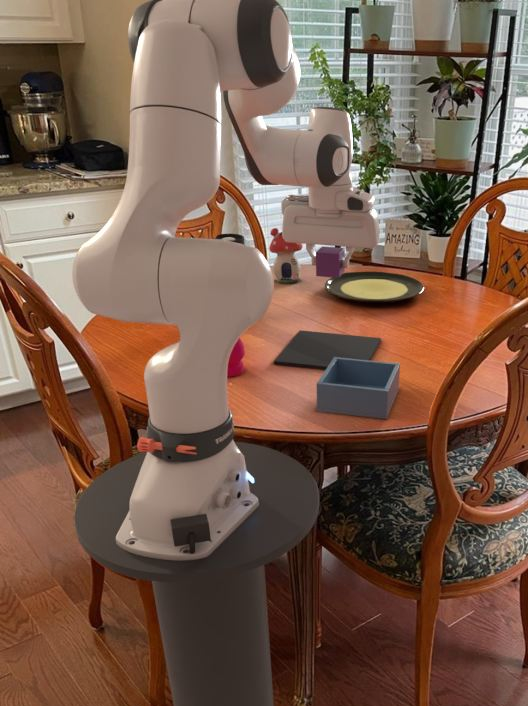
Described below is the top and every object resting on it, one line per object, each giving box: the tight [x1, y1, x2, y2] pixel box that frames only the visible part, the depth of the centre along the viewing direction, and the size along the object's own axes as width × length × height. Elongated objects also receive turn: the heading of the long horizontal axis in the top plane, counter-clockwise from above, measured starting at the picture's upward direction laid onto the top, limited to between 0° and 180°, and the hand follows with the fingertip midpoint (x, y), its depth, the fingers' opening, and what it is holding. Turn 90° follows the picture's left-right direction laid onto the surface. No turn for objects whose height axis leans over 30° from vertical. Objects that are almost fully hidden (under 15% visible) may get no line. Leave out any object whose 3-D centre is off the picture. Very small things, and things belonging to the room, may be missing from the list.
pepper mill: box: [227, 337, 246, 378], centre depth 147 cm, size 7×7×20 cm
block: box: [315, 246, 346, 278], centre depth 150 cm, size 5×5×5 cm
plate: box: [324, 270, 425, 304], centre depth 199 cm, size 28×28×2 cm
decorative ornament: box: [268, 227, 303, 285], centre depth 205 cm, size 9×7×15 cm
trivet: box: [273, 330, 382, 371], centre depth 162 cm, size 20×20×1 cm
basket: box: [316, 357, 401, 420], centre depth 139 cm, size 14×14×6 cm
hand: (330, 266), depth 151 cm, fingers closed on block, 5 cm apart
